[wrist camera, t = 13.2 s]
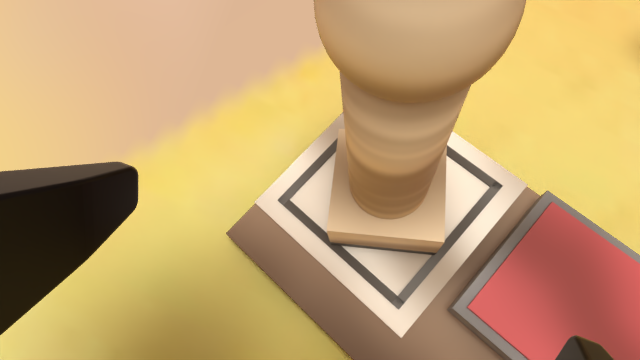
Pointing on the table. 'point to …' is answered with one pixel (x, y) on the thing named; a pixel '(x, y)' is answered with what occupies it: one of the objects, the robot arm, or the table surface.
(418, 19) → the stamp
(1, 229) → the robot arm
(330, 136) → the board
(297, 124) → the table surface
